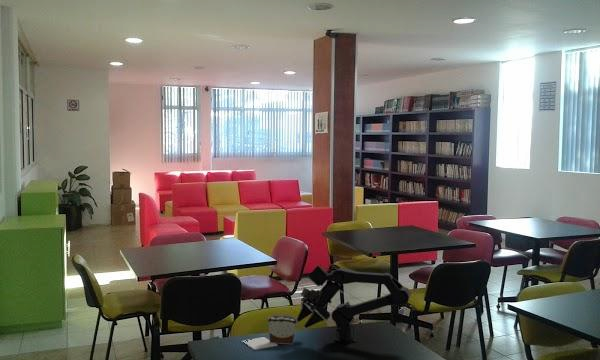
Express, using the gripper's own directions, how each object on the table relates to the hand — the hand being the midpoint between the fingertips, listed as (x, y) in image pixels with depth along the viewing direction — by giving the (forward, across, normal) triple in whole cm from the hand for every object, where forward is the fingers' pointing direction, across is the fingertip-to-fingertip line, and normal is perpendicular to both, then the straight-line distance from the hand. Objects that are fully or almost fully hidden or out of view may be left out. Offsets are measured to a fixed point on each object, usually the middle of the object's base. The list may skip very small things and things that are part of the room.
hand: (301, 324), depth 213 cm
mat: (+16, -5, -6) cm, 18 cm away
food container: (+10, -4, +1) cm, 11 cm away
